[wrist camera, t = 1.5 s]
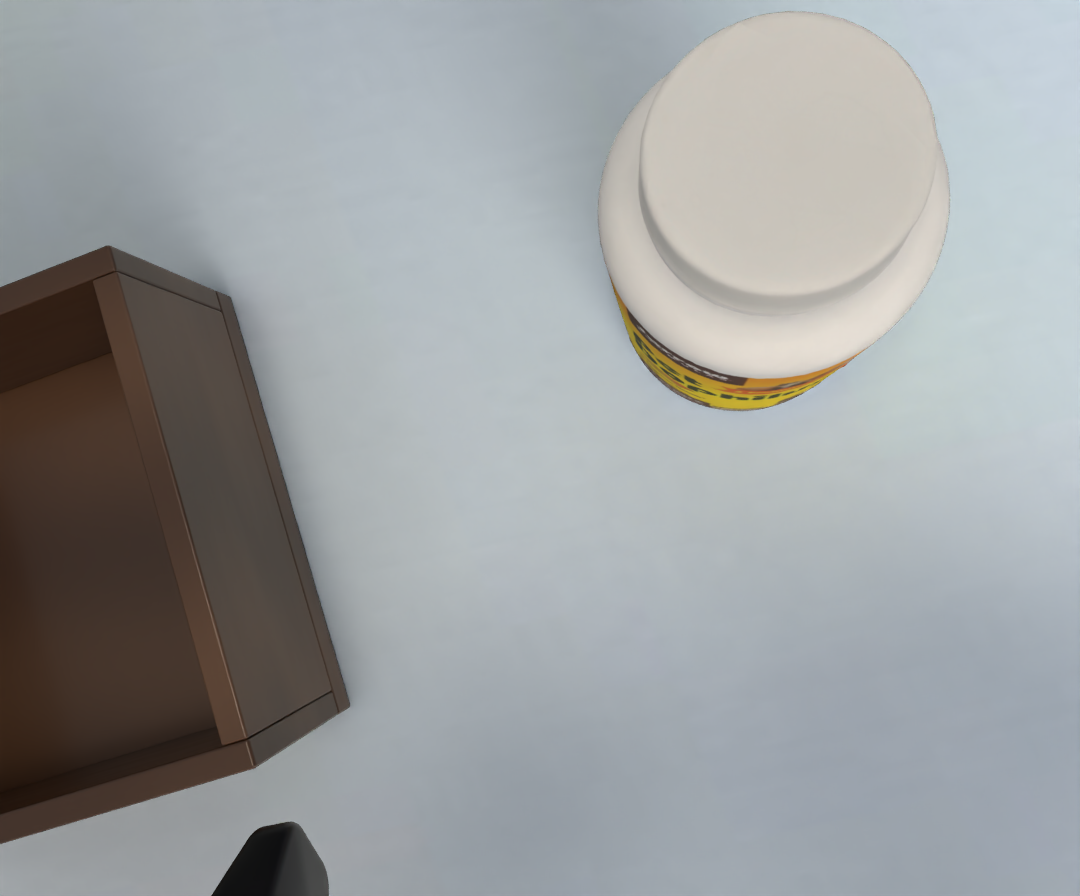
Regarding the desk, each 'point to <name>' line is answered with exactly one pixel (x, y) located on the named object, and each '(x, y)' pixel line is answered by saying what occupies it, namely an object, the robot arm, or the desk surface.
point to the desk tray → (142, 550)
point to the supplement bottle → (772, 208)
